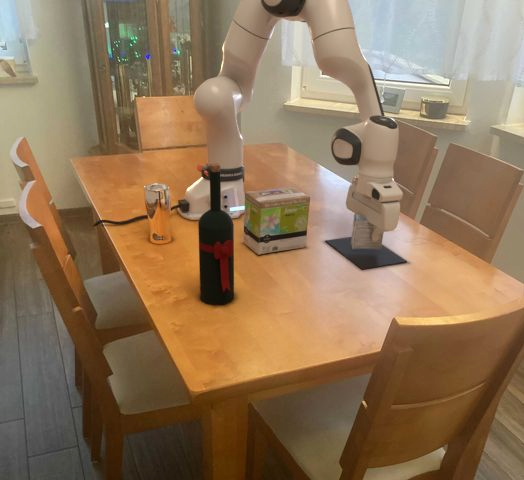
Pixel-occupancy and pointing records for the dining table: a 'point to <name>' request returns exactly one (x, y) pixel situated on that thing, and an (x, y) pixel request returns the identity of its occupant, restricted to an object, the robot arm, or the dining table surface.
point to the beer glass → (158, 212)
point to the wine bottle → (216, 248)
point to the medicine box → (364, 234)
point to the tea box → (275, 219)
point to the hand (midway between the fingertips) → (366, 235)
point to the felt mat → (365, 254)
